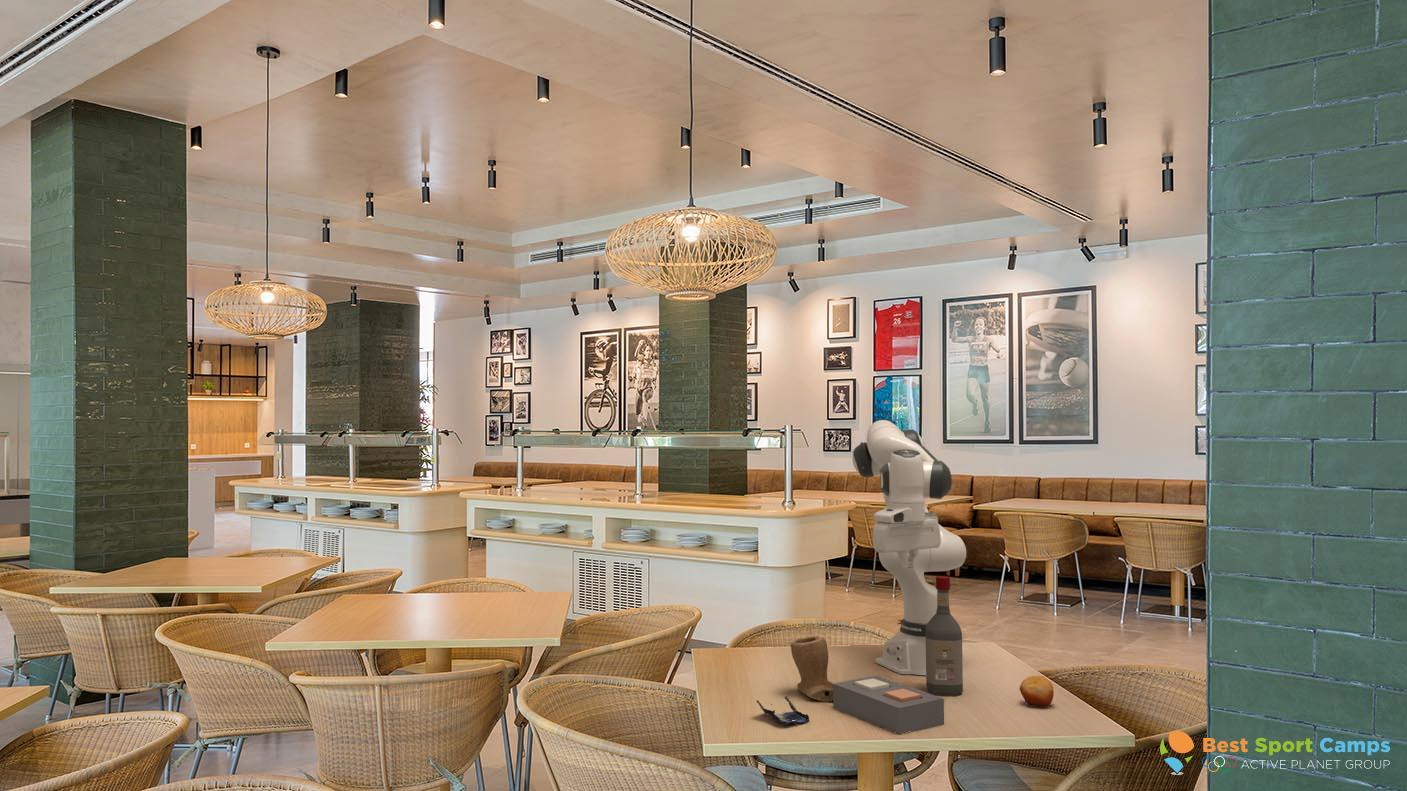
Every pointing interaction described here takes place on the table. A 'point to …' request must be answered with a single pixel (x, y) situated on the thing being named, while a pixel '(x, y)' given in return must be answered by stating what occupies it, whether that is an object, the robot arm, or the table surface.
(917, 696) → the terracotta key
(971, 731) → the table surface
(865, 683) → the off-white key
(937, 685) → the liquor
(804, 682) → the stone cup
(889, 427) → the robot arm
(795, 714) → the dark blue forked piece
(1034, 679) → the fruit
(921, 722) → the key panel
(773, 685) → the table surface
